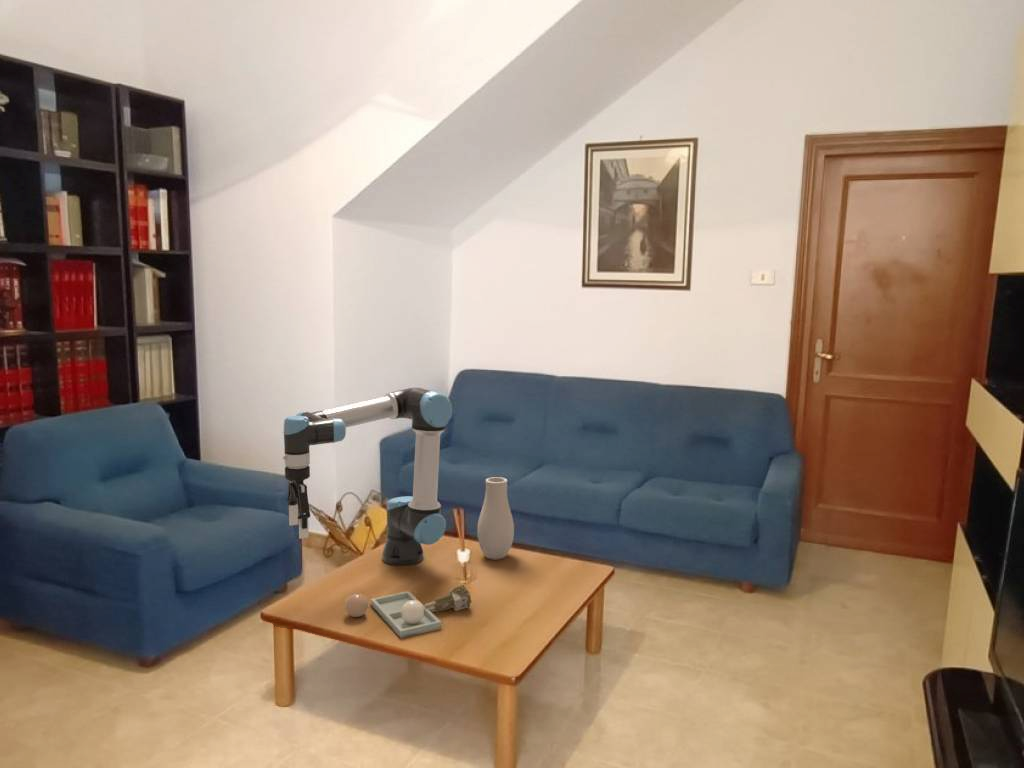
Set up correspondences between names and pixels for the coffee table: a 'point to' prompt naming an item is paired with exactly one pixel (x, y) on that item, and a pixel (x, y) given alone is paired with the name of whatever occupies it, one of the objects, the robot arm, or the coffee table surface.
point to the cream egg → (412, 611)
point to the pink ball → (356, 605)
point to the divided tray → (391, 614)
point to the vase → (495, 520)
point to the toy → (452, 600)
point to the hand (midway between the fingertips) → (298, 531)
